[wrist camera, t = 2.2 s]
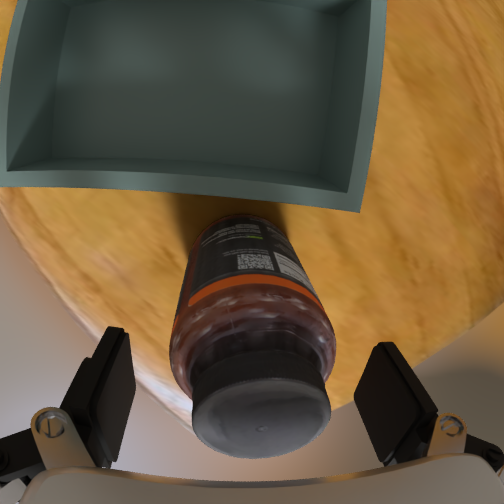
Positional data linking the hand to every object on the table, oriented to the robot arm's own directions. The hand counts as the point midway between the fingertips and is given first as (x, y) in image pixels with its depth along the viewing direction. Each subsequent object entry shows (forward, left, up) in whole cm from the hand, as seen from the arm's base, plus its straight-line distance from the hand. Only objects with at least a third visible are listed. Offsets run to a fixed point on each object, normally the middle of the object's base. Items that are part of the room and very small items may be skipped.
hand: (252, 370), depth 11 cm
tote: (-11, -4, -8) cm, 14 cm away
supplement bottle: (-1, 0, -8) cm, 8 cm away
